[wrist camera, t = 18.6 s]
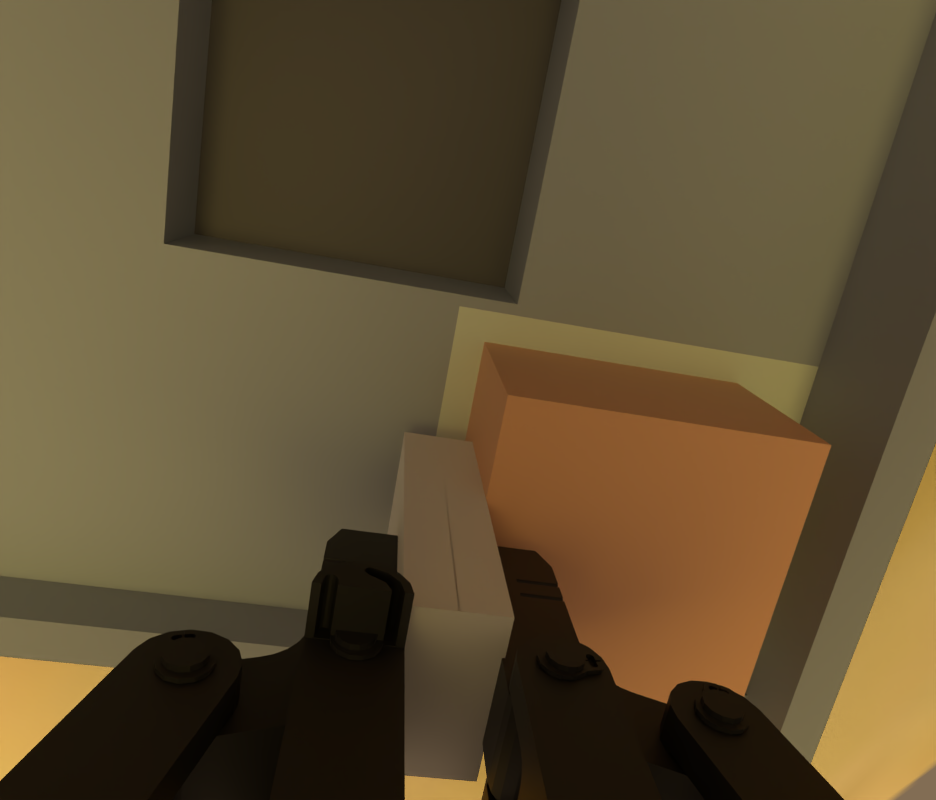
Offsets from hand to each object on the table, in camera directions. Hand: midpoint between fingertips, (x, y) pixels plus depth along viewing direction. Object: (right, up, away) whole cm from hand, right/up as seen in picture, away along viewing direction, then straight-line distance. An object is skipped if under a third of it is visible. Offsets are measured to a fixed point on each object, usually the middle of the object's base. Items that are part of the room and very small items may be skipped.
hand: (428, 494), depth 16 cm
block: (+4, 0, +1) cm, 4 cm away
